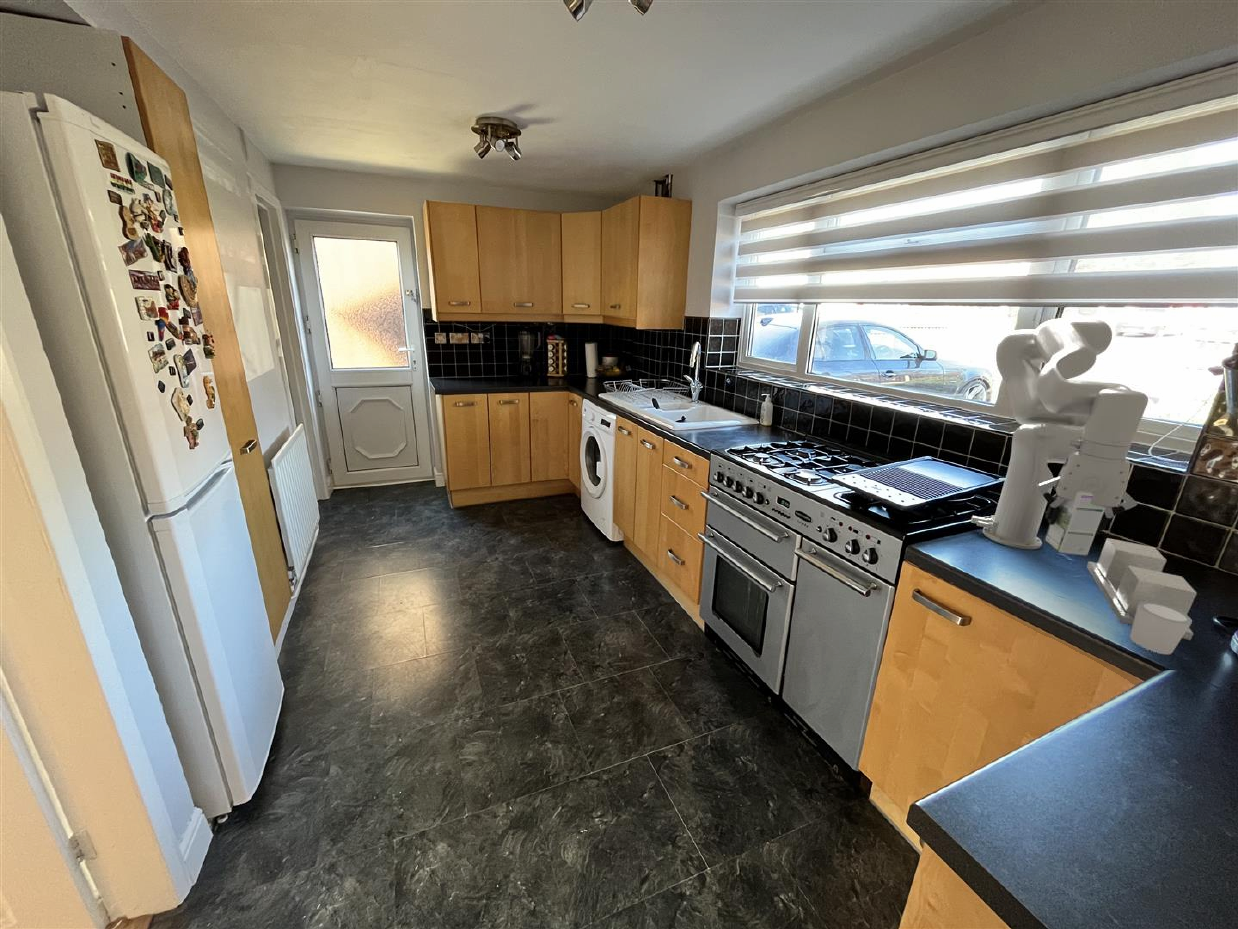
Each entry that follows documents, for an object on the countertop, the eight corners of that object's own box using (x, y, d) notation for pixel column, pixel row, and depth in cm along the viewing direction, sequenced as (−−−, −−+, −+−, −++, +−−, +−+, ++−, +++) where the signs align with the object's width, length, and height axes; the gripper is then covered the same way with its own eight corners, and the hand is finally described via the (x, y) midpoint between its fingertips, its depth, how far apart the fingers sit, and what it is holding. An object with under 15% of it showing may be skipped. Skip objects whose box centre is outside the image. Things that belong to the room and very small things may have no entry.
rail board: (1119, 622, 99) (1135, 583, 96) (1086, 566, 120) (1099, 533, 117) (1190, 640, 94) (1209, 599, 91) (1143, 579, 115) (1157, 545, 113)
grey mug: (1162, 637, 95) (1176, 605, 92) (1187, 660, 88) (1203, 627, 86) (1116, 629, 97) (1129, 597, 94) (1138, 651, 90) (1152, 618, 88)
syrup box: (1088, 556, 108) (1113, 494, 103) (1057, 552, 109) (1080, 491, 104) (1071, 543, 113) (1094, 484, 108) (1042, 540, 114) (1063, 481, 109)
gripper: (1051, 446, 104) (1025, 523, 110) (1167, 463, 96) (1131, 545, 102) (1045, 437, 110) (1021, 511, 116) (1153, 452, 102) (1120, 530, 108)
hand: (1072, 526), depth 109 cm, fingers closed on syrup box, 7 cm apart
